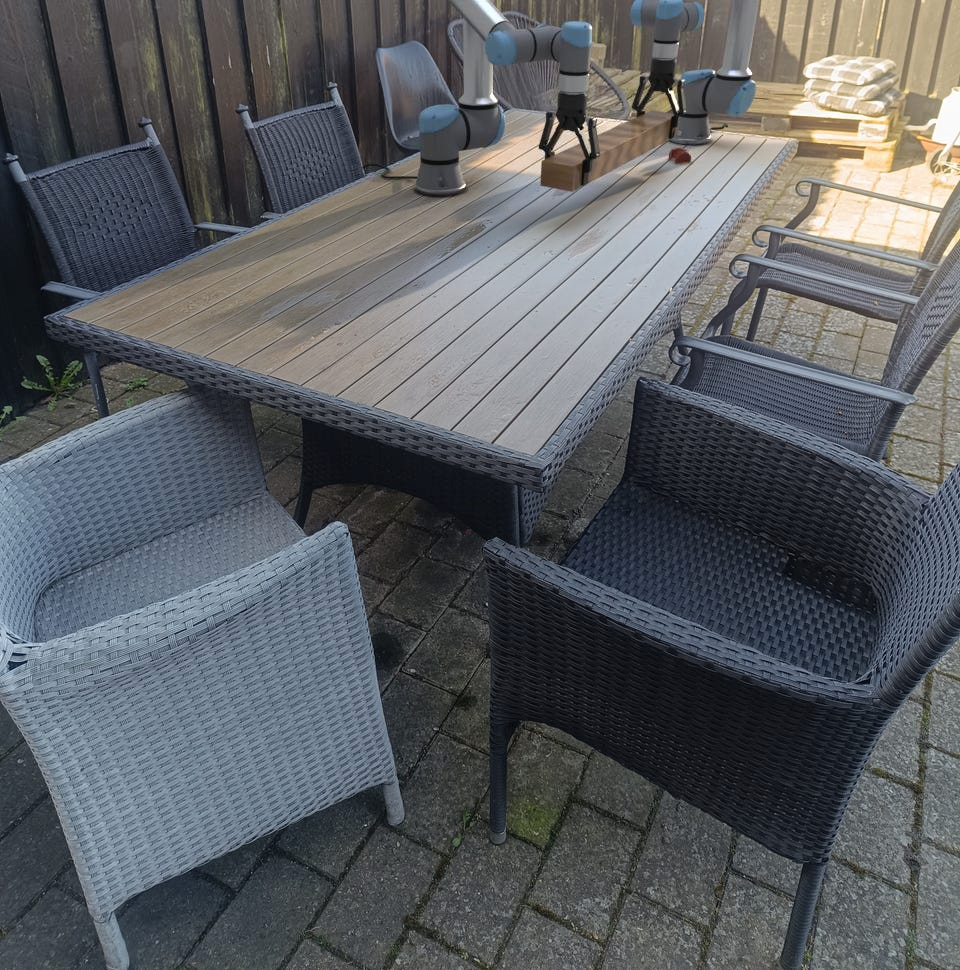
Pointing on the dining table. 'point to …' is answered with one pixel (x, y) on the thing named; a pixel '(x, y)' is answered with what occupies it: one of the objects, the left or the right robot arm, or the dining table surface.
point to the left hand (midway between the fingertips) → (567, 181)
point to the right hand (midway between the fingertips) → (655, 135)
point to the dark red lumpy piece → (680, 155)
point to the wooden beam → (608, 151)
